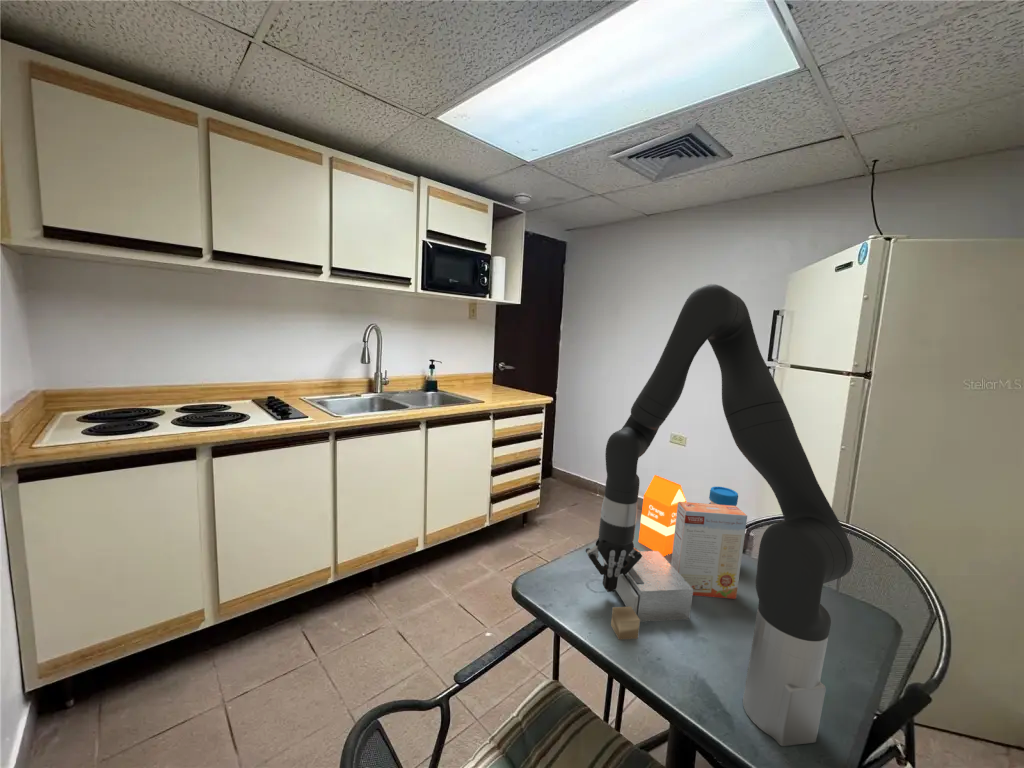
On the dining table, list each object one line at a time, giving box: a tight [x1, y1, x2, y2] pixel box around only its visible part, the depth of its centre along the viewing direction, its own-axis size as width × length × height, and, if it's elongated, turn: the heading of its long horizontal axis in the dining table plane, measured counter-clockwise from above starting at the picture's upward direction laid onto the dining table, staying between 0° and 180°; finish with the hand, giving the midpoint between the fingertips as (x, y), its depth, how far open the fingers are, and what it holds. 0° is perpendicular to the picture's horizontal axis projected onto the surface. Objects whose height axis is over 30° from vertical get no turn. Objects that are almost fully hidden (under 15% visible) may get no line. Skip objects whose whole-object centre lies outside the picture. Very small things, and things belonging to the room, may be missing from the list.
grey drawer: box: [615, 574, 639, 614], centre depth 94 cm, size 15×12×4 cm
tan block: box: [610, 606, 641, 640], centre depth 83 cm, size 4×4×4 cm
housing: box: [625, 550, 694, 623], centre depth 94 cm, size 15×12×7 cm
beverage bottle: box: [708, 486, 739, 507], centre depth 111 cm, size 8×8×20 cm
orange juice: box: [638, 474, 688, 557], centre depth 117 cm, size 8×9×20 cm
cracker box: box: [670, 501, 748, 600], centre depth 98 cm, size 14×6×21 cm, turn 87°
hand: (609, 589), depth 93 cm, fingers closed
